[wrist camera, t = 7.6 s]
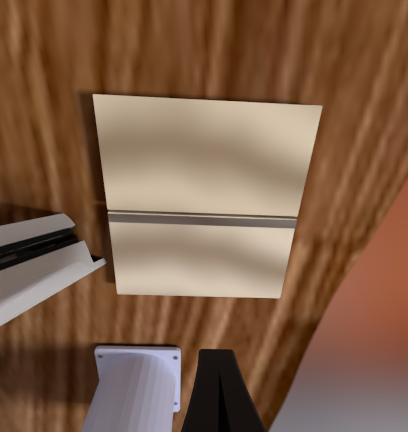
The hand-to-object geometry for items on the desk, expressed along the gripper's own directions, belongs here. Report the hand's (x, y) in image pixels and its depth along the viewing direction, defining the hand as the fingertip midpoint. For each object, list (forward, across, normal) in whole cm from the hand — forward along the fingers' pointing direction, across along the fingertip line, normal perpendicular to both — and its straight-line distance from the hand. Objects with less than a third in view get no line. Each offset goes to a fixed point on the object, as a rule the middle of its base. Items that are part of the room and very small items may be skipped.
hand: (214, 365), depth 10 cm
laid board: (+10, 0, 0) cm, 10 cm away
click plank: (+10, +1, -7) cm, 12 cm away
